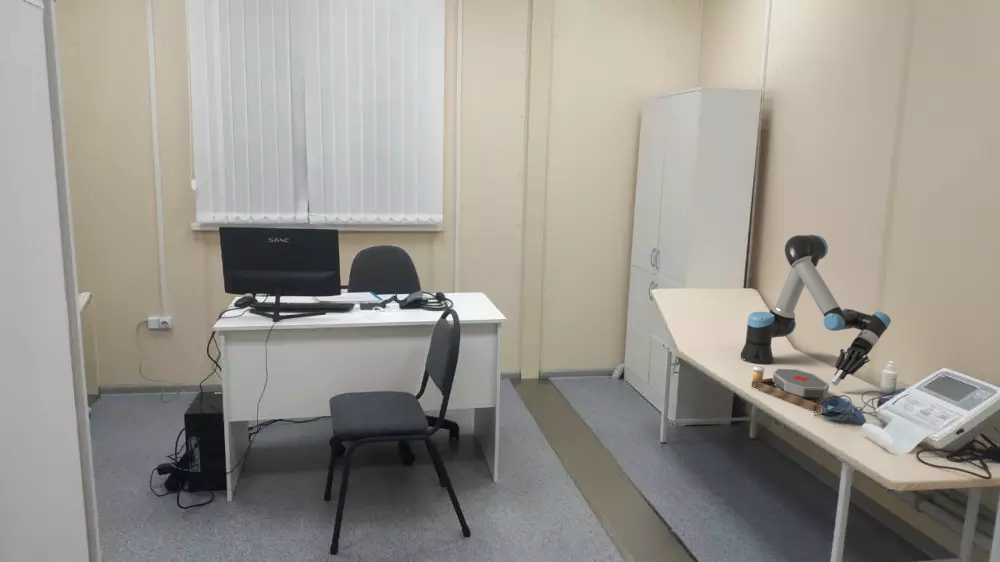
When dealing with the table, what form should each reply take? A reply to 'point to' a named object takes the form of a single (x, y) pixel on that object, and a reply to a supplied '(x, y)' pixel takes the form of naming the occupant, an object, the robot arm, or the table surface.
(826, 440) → the table surface
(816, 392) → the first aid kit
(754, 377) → the pill bottle
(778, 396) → the brown piece
